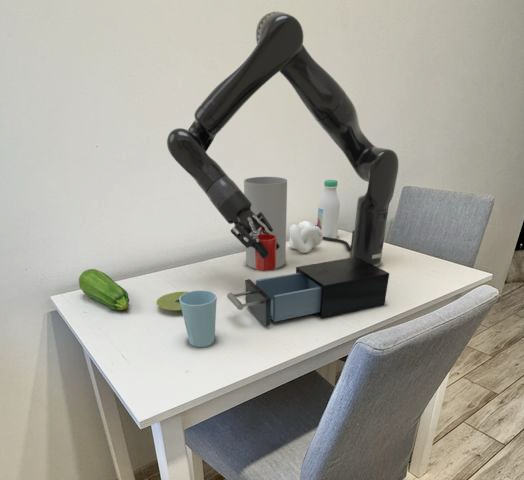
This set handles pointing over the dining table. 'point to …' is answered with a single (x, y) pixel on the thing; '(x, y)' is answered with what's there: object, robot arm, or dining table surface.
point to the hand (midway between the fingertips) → (272, 252)
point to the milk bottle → (329, 210)
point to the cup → (199, 316)
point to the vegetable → (103, 289)
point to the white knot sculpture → (305, 236)
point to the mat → (170, 301)
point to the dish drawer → (280, 297)
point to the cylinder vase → (269, 211)
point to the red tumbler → (270, 260)
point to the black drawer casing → (347, 285)
